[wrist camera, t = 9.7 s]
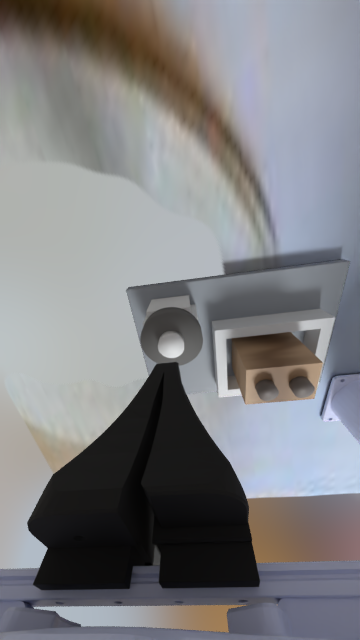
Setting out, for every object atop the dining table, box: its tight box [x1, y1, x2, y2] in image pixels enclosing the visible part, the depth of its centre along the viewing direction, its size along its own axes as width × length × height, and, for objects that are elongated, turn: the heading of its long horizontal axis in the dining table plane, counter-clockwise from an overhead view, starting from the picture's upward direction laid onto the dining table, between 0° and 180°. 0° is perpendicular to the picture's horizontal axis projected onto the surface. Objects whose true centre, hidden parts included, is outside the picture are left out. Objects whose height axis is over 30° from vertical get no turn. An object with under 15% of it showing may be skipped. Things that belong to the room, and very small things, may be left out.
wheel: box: [140, 295, 203, 366], centre depth 17 cm, size 5×5×5 cm
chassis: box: [126, 260, 350, 397], centre depth 19 cm, size 20×14×4 cm
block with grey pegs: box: [232, 332, 323, 404], centre depth 18 cm, size 6×4×6 cm, turn 98°
